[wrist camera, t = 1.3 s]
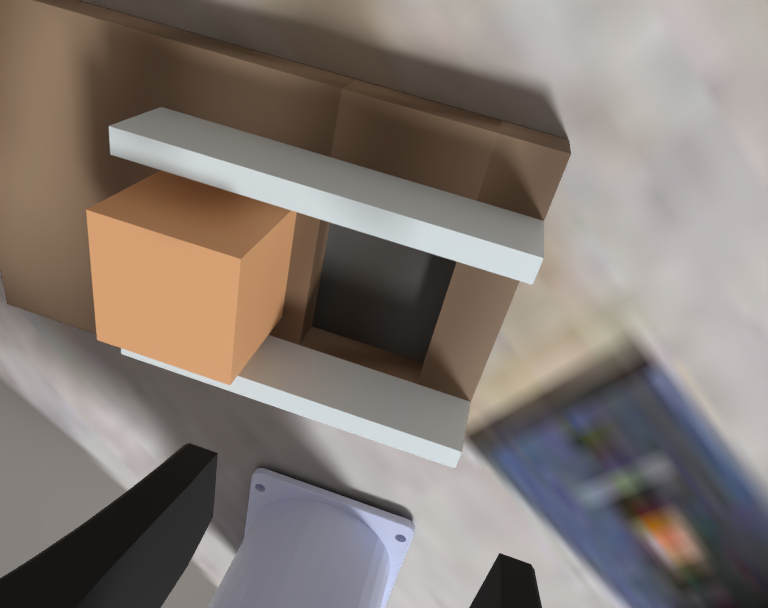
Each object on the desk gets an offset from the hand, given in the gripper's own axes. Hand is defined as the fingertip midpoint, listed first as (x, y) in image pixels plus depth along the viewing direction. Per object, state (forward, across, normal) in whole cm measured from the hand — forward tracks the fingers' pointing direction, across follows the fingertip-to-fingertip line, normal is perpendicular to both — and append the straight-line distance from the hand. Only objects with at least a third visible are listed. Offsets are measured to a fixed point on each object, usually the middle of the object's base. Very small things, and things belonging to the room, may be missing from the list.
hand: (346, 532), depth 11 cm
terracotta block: (+9, +7, 0) cm, 11 cm away
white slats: (+9, +3, 0) cm, 10 cm away
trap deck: (+10, +6, 0) cm, 12 cm away
